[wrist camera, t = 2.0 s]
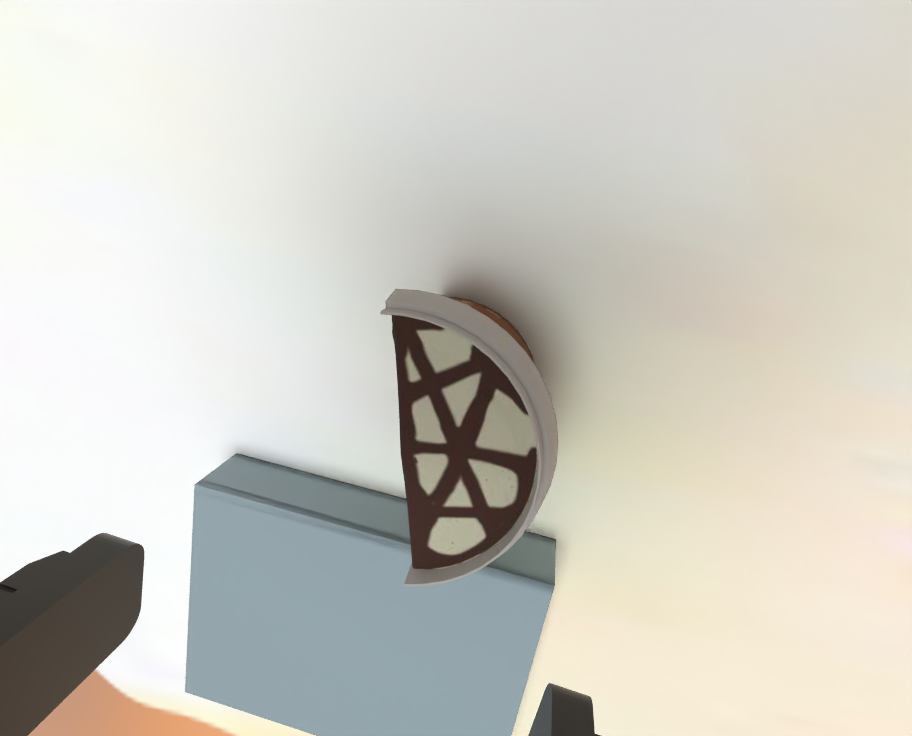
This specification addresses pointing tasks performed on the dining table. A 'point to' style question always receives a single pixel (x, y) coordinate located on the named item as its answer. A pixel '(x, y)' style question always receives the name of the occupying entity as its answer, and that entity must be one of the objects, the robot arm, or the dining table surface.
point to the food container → (467, 433)
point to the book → (351, 612)
